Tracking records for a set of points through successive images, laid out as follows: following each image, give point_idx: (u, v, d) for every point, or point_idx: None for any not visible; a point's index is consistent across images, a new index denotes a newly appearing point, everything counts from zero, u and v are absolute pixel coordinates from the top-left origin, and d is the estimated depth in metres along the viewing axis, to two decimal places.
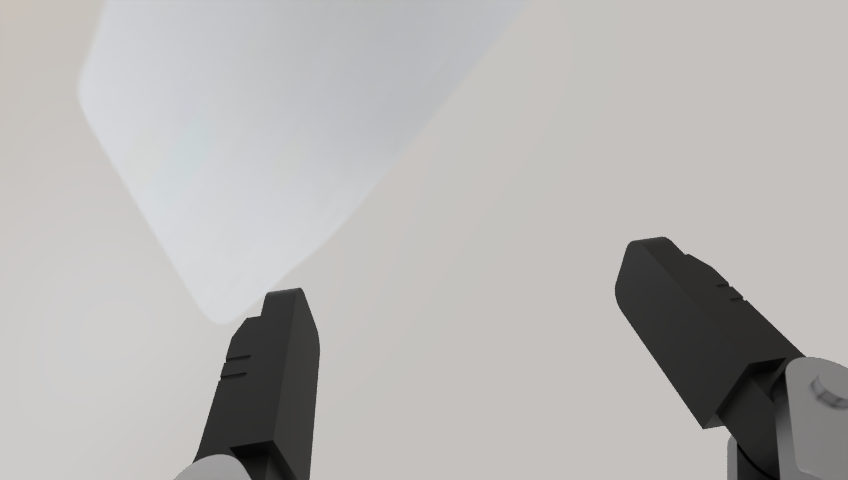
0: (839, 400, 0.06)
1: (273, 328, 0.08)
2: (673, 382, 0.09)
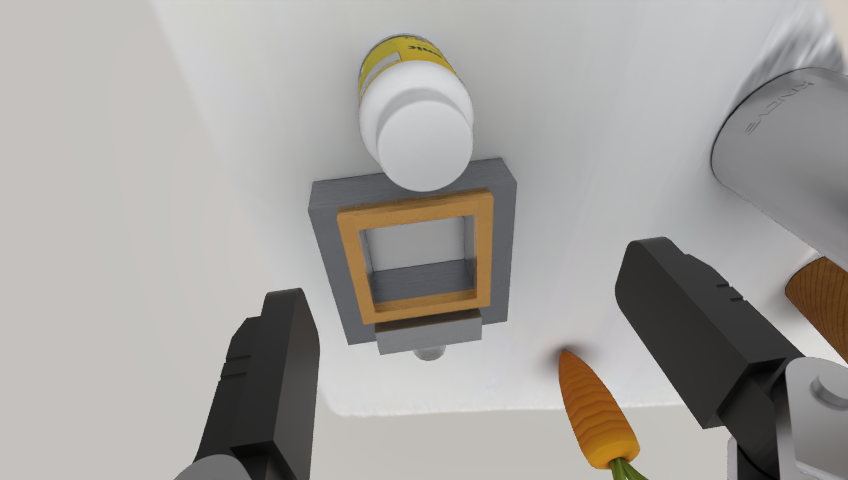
0: (839, 400, 0.06)
1: (273, 328, 0.08)
2: (673, 382, 0.09)
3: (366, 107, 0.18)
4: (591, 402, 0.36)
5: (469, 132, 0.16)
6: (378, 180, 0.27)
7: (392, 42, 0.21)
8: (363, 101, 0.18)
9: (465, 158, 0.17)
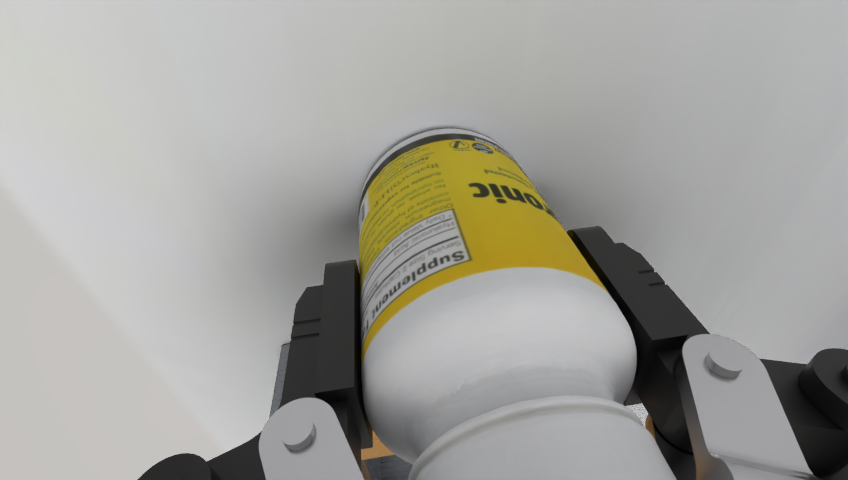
0: (724, 371, 0.07)
1: (337, 294, 0.09)
2: None
3: (381, 386, 0.07)
4: None
5: None
6: None
7: (429, 160, 0.10)
8: (373, 362, 0.07)
9: None
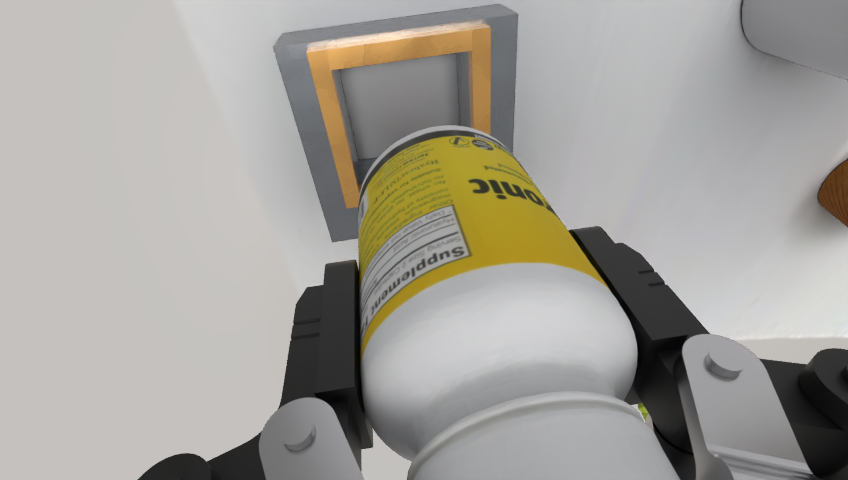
0: (724, 371, 0.07)
1: (337, 294, 0.09)
2: None
3: (380, 382, 0.07)
4: None
5: None
6: (356, 26, 0.23)
7: (429, 156, 0.10)
8: (372, 358, 0.07)
9: None
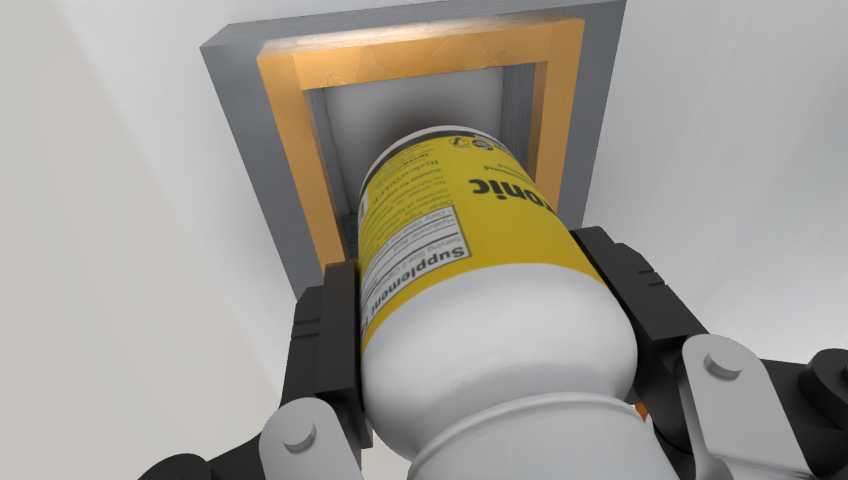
0: (724, 371, 0.07)
1: (337, 294, 0.09)
2: None
3: (380, 383, 0.07)
4: None
5: None
6: (349, 15, 0.14)
7: (429, 156, 0.10)
8: (372, 359, 0.07)
9: None
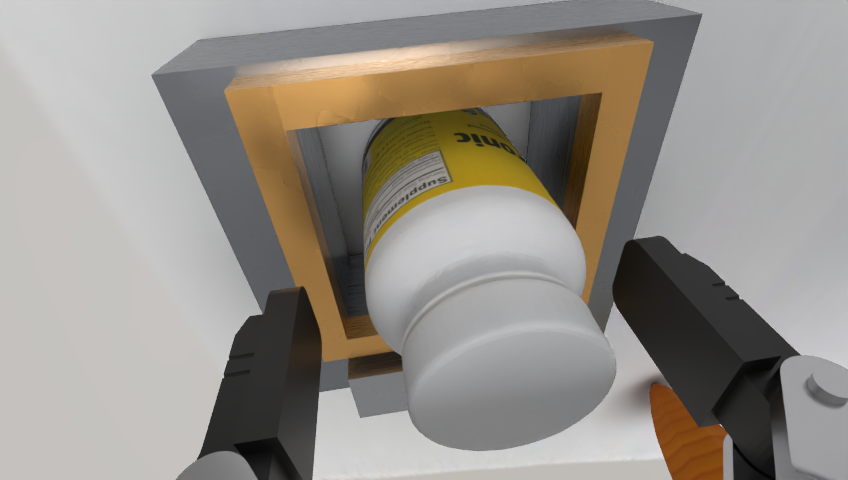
0: (833, 398, 0.06)
1: (276, 326, 0.08)
2: (670, 381, 0.09)
3: (380, 278, 0.09)
4: None
5: (613, 366, 0.07)
6: (348, 30, 0.11)
7: (422, 118, 0.12)
8: (375, 263, 0.09)
9: (592, 402, 0.08)
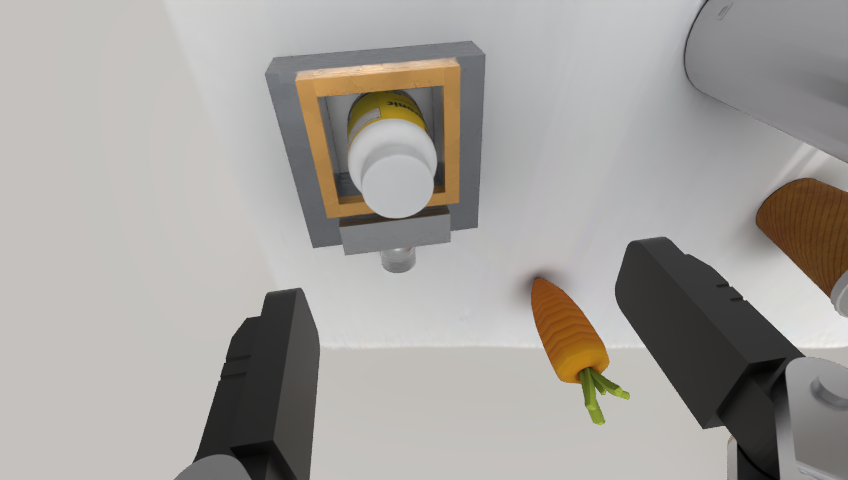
0: (839, 400, 0.06)
1: (273, 328, 0.08)
2: (673, 382, 0.09)
3: (353, 153, 0.23)
4: (562, 318, 0.36)
5: (430, 176, 0.22)
6: (341, 55, 0.26)
7: (375, 95, 0.27)
8: (351, 148, 0.23)
9: (427, 194, 0.23)
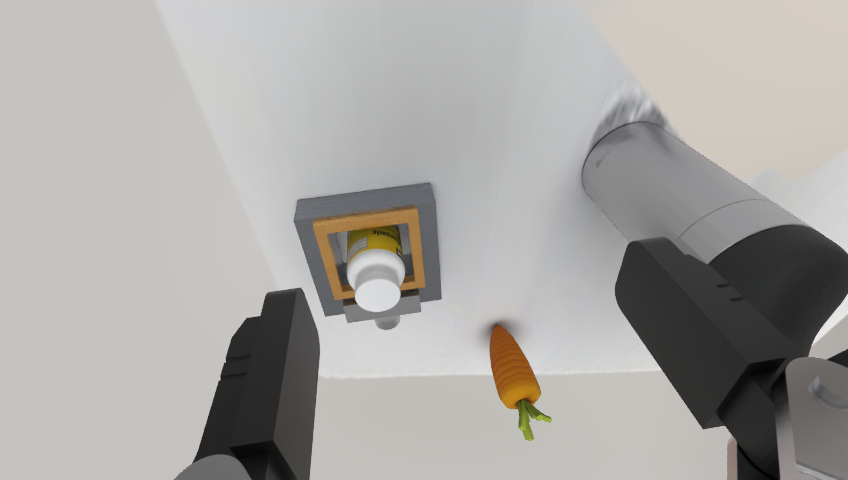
0: (838, 400, 0.06)
1: (273, 328, 0.08)
2: (673, 382, 0.09)
3: (350, 271, 0.37)
4: (508, 360, 0.49)
5: (397, 289, 0.35)
6: (342, 199, 0.39)
7: None
8: (348, 267, 0.37)
9: (397, 298, 0.36)
